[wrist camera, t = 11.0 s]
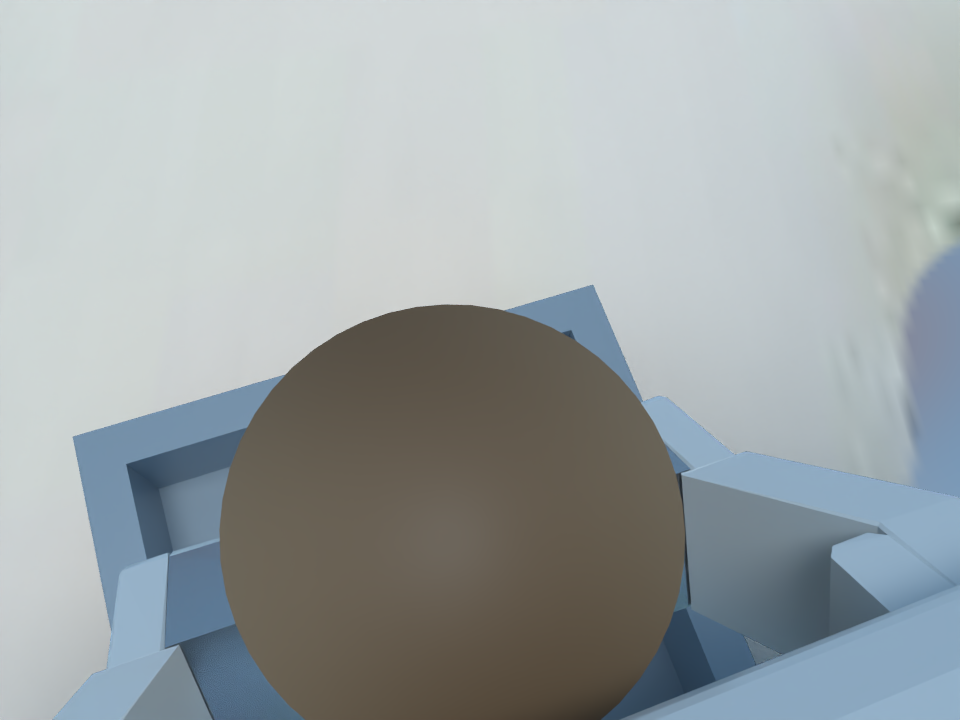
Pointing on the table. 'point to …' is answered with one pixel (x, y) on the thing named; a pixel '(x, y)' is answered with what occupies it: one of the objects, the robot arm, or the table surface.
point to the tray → (211, 449)
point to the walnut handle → (452, 525)
